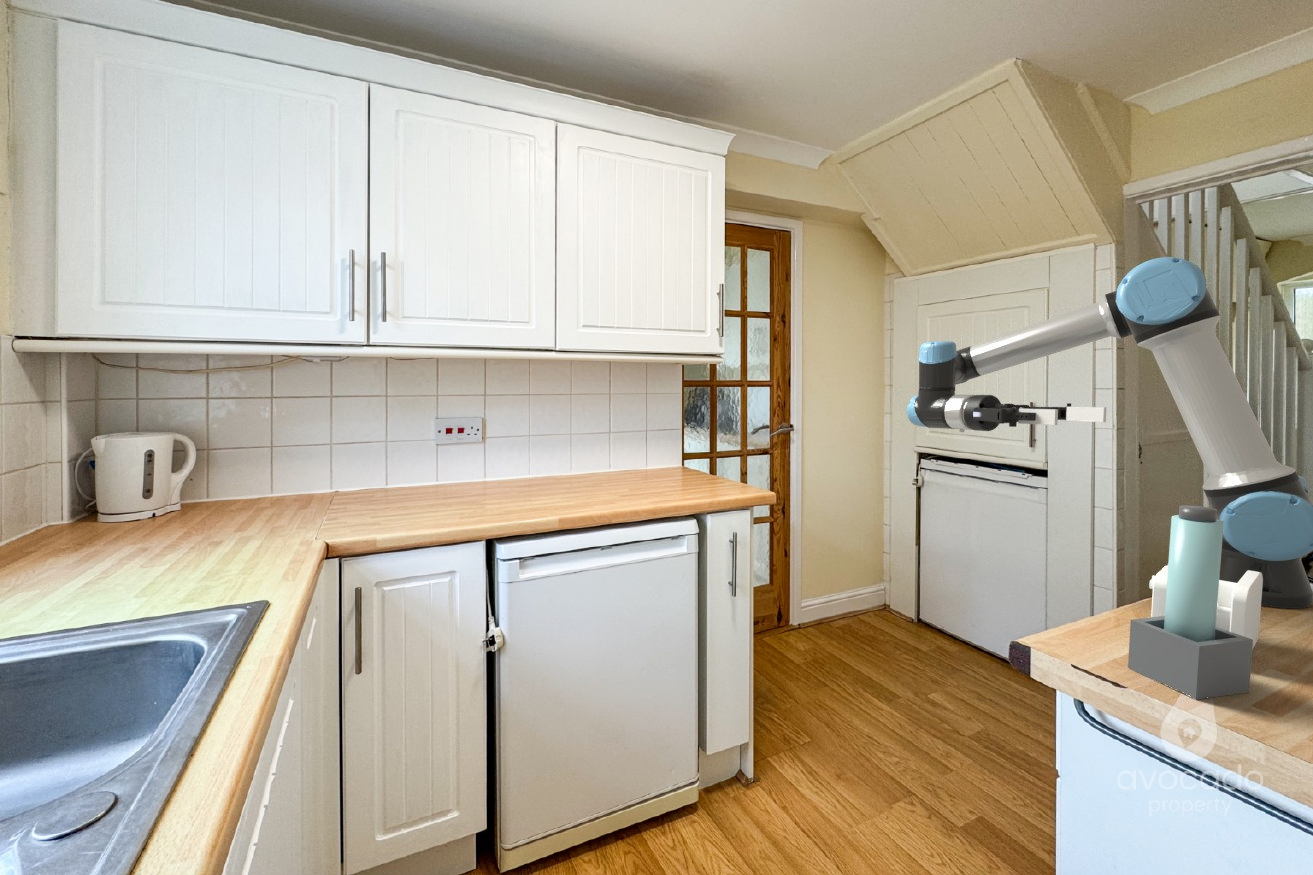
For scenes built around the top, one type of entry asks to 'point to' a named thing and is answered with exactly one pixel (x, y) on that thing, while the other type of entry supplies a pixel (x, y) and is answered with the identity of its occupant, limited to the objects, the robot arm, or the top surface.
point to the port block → (1191, 659)
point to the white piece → (1223, 602)
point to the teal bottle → (1193, 573)
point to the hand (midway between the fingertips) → (1081, 416)
